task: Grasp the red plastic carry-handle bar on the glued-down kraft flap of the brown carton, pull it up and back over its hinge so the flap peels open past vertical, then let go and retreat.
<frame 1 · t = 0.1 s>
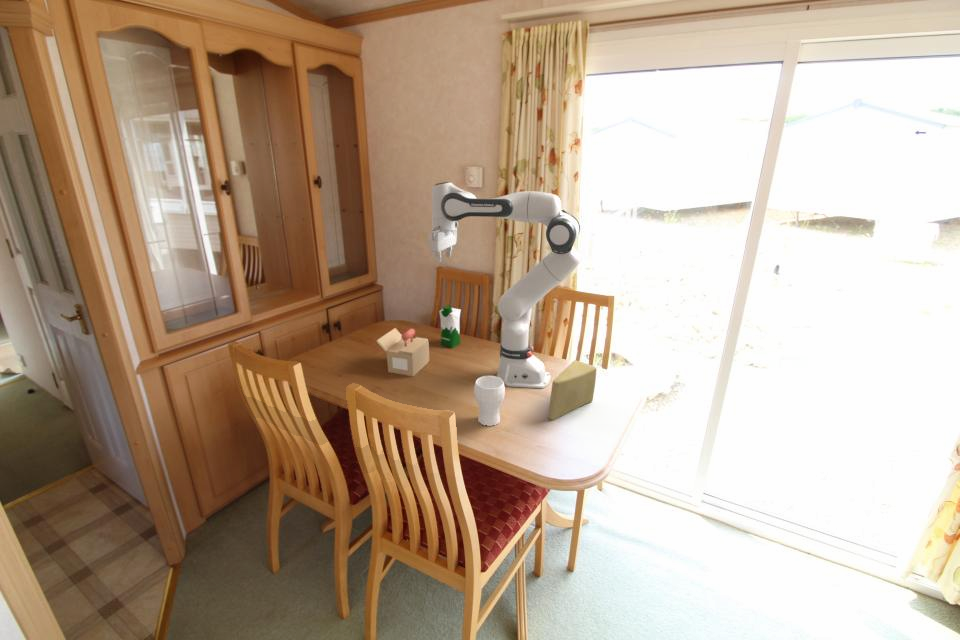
hand: (443, 259, 176), 48 cm above the table, fingers open, 8 cm apart
carton: (409, 366, 192), on the table
cheese: (567, 408, 160), on the table
open flap: (390, 339, 190), point 12 cm above the table, hinge at 135.0°
glued flap: (412, 339, 186), point 13 cm above the table, hinge at 0.0°
cup: (489, 420, 152), on the table
milk carton: (450, 344, 215), on the table
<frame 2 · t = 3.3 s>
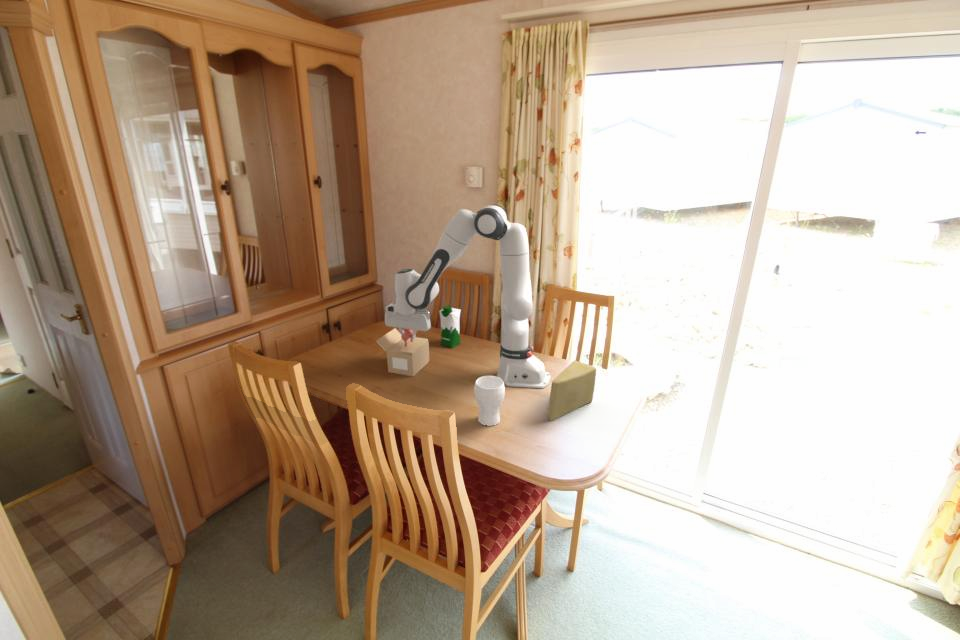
hand: (408, 337, 187), 14 cm above the table, fingers closed on glued flap, 3 cm apart
glued flap: (412, 339, 186), point 13 cm above the table, hinge at 0.1°, touching gripper
everything else where it was.
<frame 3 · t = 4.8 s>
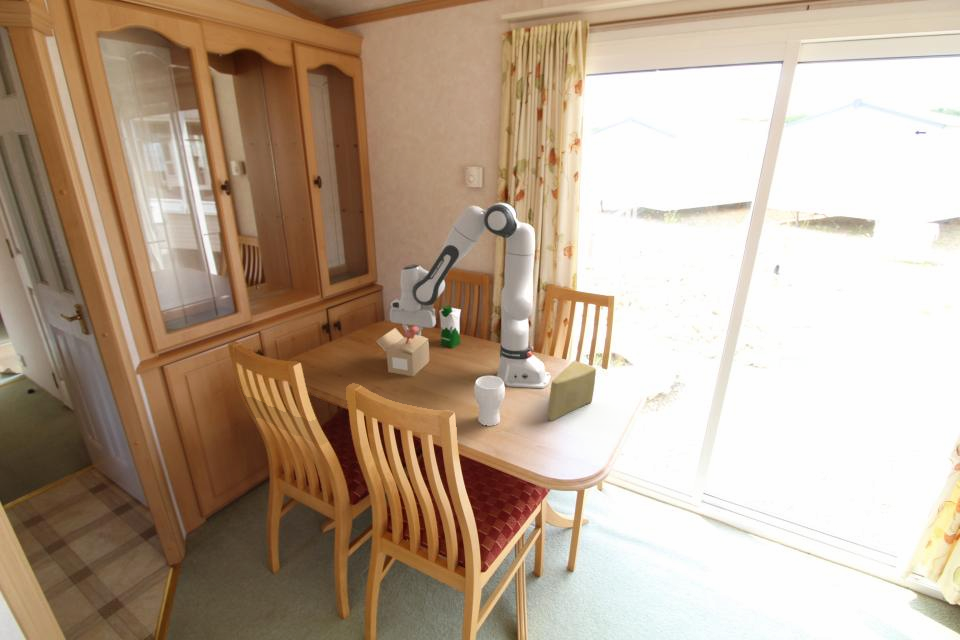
hand: (413, 334, 185), 16 cm above the table, fingers open, 4 cm apart
glued flap: (415, 337, 186), point 14 cm above the table, hinge at 18.0°, touching gripper
everything else where it was.
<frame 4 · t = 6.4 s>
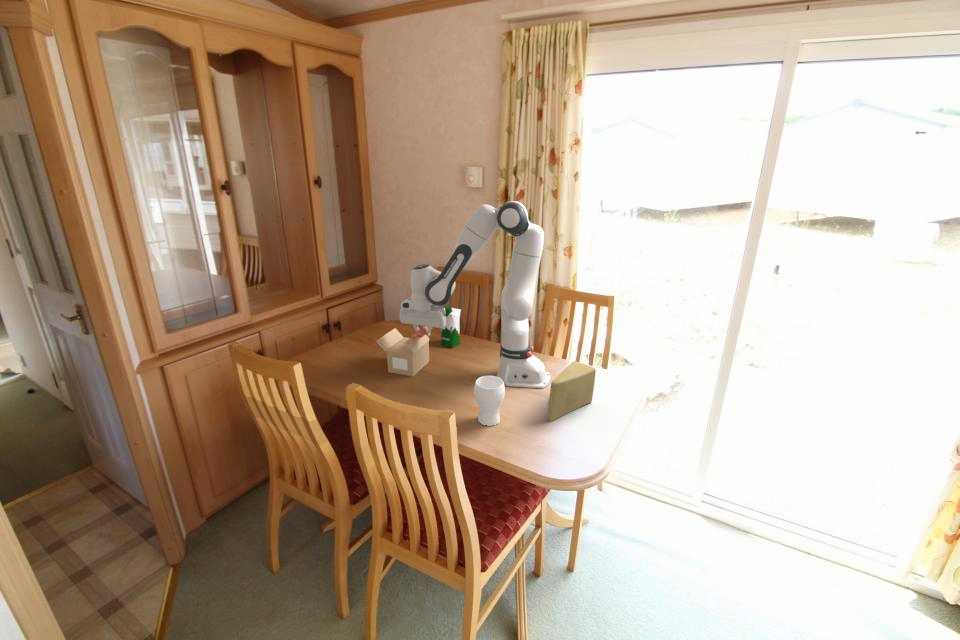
hand: (423, 334, 184), 16 cm above the table, fingers closed on glued flap, 3 cm apart
glued flap: (422, 337, 185), point 15 cm above the table, hinge at 57.8°, touching gripper
everything else where it was.
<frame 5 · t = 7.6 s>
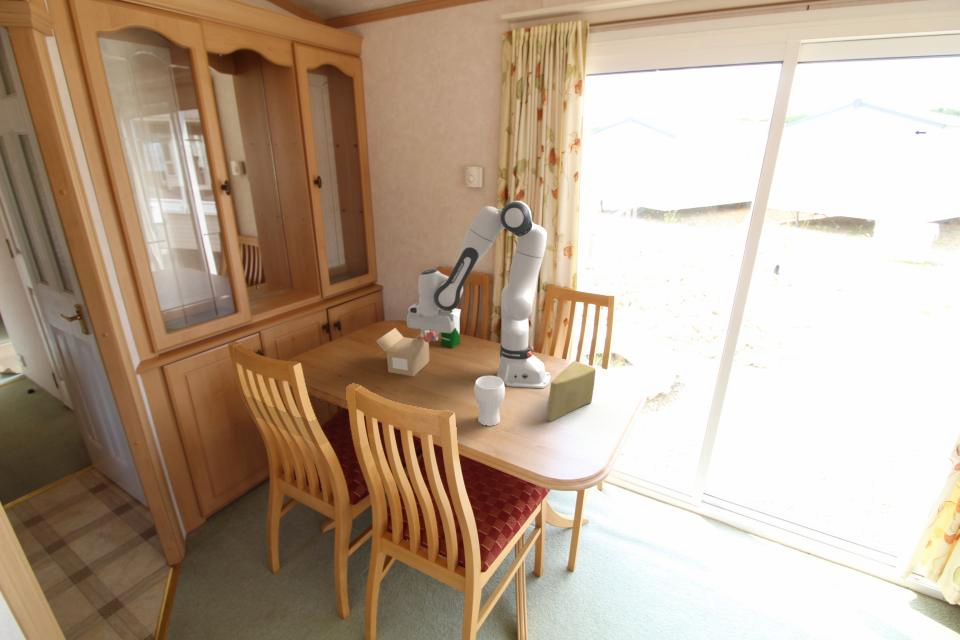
hand: (430, 339, 184), 14 cm above the table, fingers closed on glued flap, 3 cm apart
glued flap: (427, 340, 184), point 14 cm above the table, hinge at 85.7°, touching gripper
everything else where it was.
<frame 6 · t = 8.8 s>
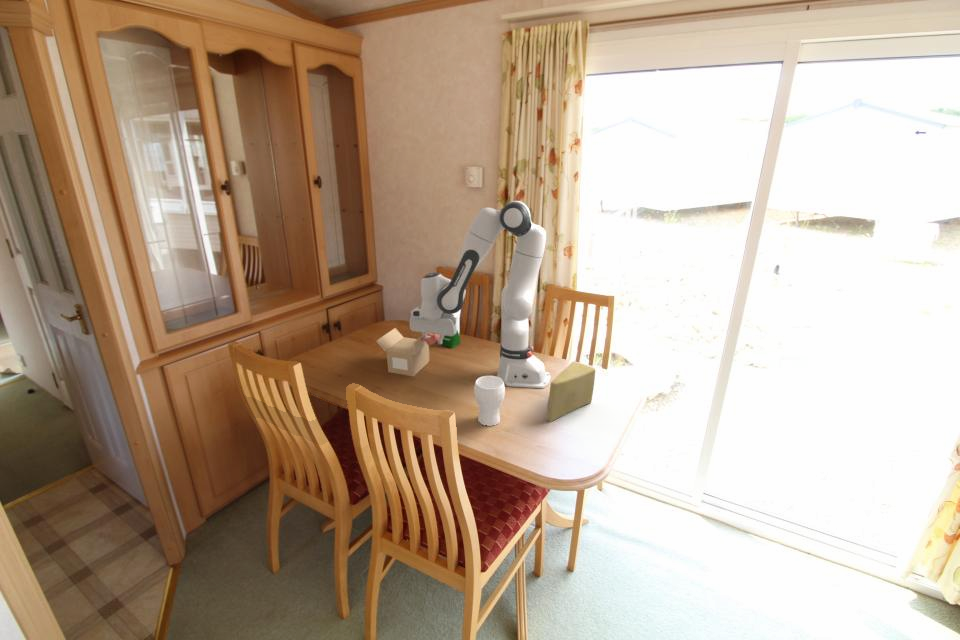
hand: (433, 342, 184), 13 cm above the table, fingers open, 5 cm apart
glued flap: (428, 342, 184), point 13 cm above the table, hinge at 98.5°, touching gripper
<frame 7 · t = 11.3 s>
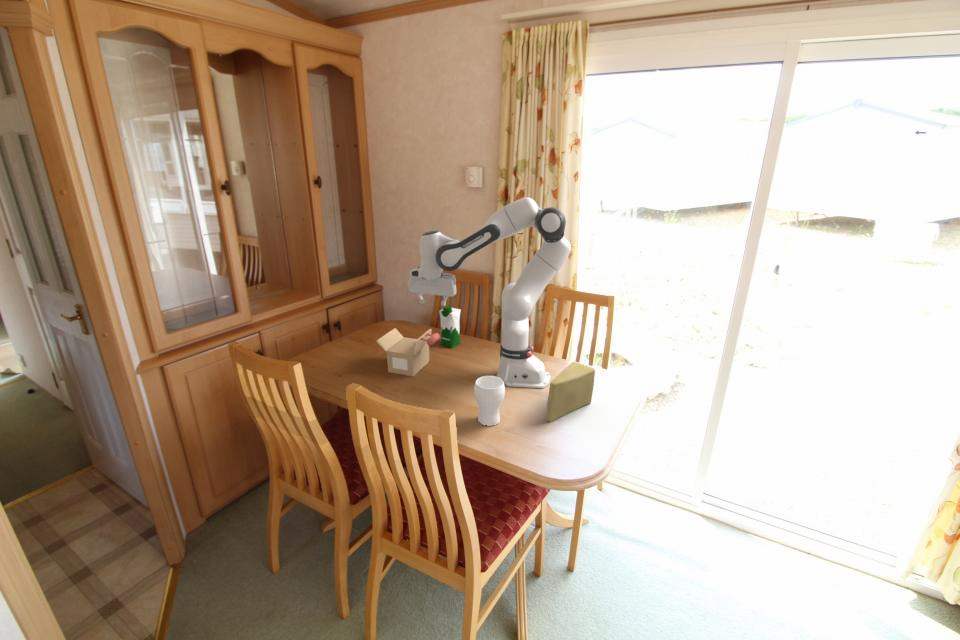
hand: (432, 304, 179), 30 cm above the table, fingers open, 8 cm apart
glued flap: (428, 342, 184), point 13 cm above the table, hinge at 98.5°
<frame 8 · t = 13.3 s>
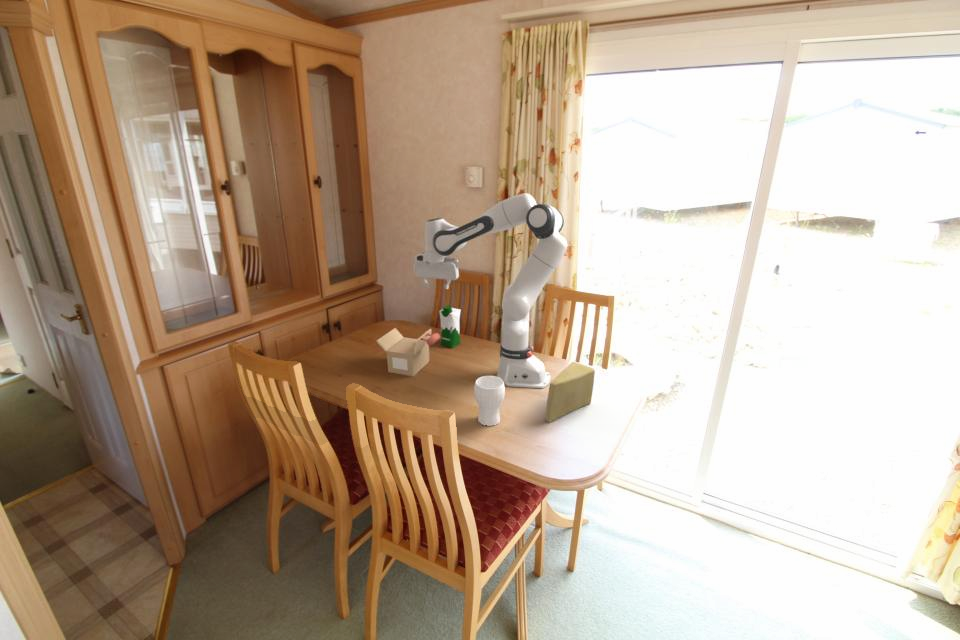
hand: (436, 287, 190), 33 cm above the table, fingers open, 8 cm apart
at the end: glued flap at +98° (first picture: +0°); the gripper is holding nothing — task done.
